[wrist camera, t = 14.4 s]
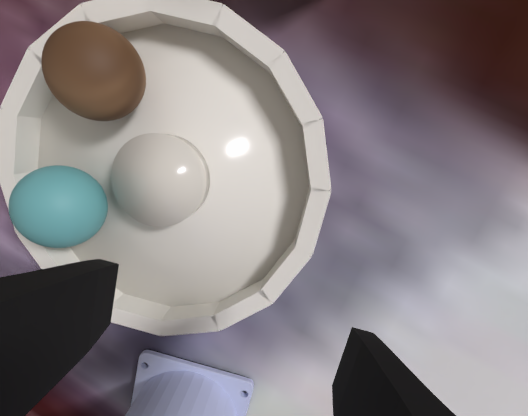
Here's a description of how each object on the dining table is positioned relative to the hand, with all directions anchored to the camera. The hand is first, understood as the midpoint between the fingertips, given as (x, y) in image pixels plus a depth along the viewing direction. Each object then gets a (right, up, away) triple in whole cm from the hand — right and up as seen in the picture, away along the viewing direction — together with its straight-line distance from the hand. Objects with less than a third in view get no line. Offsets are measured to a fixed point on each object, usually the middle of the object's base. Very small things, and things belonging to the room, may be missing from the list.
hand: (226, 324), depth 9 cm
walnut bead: (-7, +10, +8) cm, 14 cm away
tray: (-4, +5, +10) cm, 12 cm away
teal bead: (-10, +4, +9) cm, 14 cm away
